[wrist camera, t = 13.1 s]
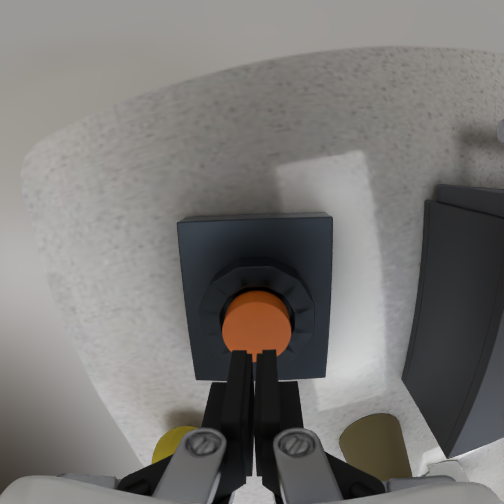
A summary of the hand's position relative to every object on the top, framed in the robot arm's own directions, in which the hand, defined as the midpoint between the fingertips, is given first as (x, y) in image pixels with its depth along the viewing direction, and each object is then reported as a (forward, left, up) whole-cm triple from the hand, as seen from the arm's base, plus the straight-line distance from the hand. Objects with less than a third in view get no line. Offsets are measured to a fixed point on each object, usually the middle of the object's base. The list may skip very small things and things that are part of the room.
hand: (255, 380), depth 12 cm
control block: (0, 0, -10) cm, 10 cm away
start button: (0, 0, -6) cm, 6 cm away
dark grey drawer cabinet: (+1, +18, -10) cm, 21 cm away
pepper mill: (+15, +10, -10) cm, 21 cm away
